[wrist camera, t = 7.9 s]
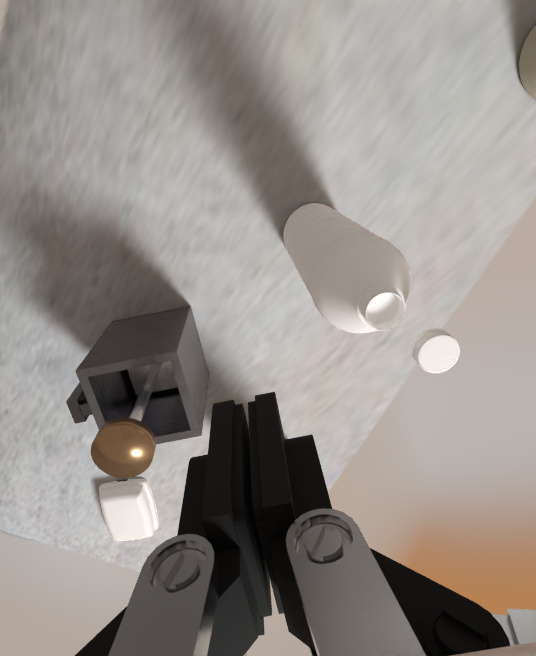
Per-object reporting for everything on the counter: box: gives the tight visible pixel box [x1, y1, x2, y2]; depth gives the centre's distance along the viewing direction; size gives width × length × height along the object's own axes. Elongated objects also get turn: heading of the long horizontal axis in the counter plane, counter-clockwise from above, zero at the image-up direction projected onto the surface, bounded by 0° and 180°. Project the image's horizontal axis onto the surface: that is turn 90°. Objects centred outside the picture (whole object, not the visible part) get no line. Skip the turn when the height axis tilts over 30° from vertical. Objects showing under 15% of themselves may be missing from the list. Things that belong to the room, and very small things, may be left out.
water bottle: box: [283, 203, 460, 373], centre depth 36 cm, size 9×6×25 cm
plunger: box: [91, 361, 178, 478], centre depth 40 cm, size 6×6×16 cm
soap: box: [99, 479, 159, 541], centre depth 58 cm, size 9×7×3 cm
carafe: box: [66, 306, 209, 444], centre depth 45 cm, size 9×11×12 cm
